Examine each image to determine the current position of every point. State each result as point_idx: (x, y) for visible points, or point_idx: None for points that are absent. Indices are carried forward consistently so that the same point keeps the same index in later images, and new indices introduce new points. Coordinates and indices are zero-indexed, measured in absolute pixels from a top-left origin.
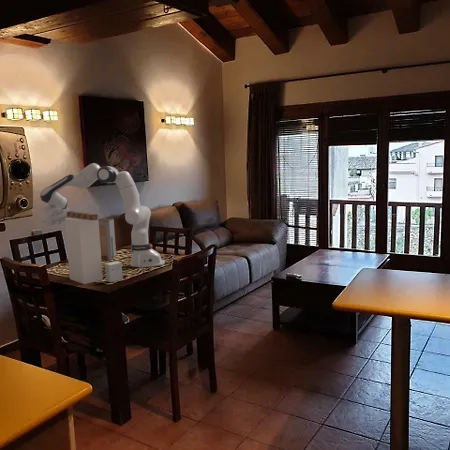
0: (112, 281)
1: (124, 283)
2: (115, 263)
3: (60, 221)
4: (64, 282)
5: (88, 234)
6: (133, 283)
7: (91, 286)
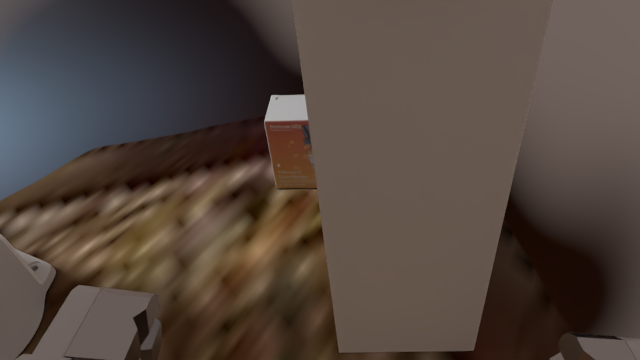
0: None
1: None
2: (298, 97)
3: (569, 334)
4: (524, 301)
5: None
6: None
7: None
